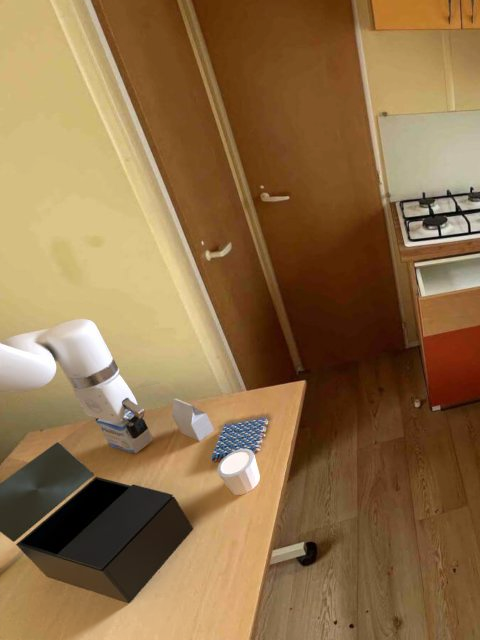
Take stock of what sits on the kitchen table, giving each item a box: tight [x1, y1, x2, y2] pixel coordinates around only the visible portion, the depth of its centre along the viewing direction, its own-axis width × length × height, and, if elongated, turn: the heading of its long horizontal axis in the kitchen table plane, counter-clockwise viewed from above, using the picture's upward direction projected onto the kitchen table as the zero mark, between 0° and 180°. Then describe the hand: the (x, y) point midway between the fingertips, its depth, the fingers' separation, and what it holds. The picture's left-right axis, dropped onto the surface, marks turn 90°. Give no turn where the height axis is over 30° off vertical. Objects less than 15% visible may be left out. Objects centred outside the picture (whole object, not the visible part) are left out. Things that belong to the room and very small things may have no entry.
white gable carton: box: [171, 397, 215, 442], centre depth 102 cm, size 4×7×10 cm, turn 69°
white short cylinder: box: [216, 449, 261, 496], centre depth 91 cm, size 7×7×7 cm
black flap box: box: [15, 476, 194, 604], centre depth 78 cm, size 19×13×11 cm
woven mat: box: [210, 416, 269, 463], centre depth 102 cm, size 10×11×2 cm
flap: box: [0, 441, 95, 543], centre depth 75 cm, size 9×13×1 cm
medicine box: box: [96, 409, 154, 454], centre depth 99 cm, size 8×4×9 cm, turn 76°
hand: (125, 429), depth 99 cm, fingers closed on medicine box, 8 cm apart
